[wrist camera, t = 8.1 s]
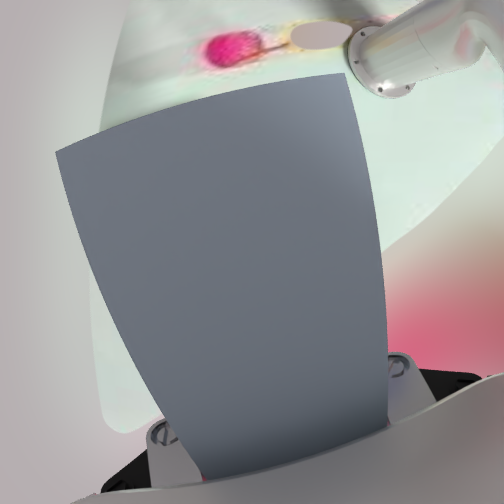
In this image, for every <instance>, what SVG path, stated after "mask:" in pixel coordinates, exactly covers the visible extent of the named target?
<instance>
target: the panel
mask: <svg viewBox="0 0 504 504" xmlns="http://www.w3.org/2000/svg"><path fill="white" fill-rule="evenodd" d="M55 153H56V157H57V161H58V165H59V169H60V173H61V177H62V181H63V184H64V188H65V191H66V194H67V198H68V202H69V205H70V208H71V211H72V215H73V218H74V221H75V224H76V227H77V230H78V233H79V236H80V239H81V242H82V244H83V247H84V250H85V253H86V255H87V258H88V261H89V264H90V266H91V269H92V271H93V274H94V276H95V279H96V281H97V284H98V286H99V289H100V291H101V294H102V296H103V298H104V301H105V303H106V305H107V307H108V310H109V312H110V314H111V316H112V319H113V321H114V323H115V325H116V327H117V329H118V332H119V334H120V336H121V338H122V340H123V342H124V344H125V346H126V348H127V350H128V352H129V354H130V356H131V358H132V360H133V362H134V364H135V366H136V368H137V369H138V371H139V373H140V375H141V377H142V379H143V381H144V382H145V384H146V386H147V388H148V390H149V391H150V393H151V395H152V397H153V398H154V400H155V402H156V403H157V405H158V407H159V409H160V410H161V412H162V413H163V415H164V417H165V418H166V420H167V422H168V423H169V425H170V426H171V428H172V430H173V431H174V433H175V434H176V436H177V437H178V439H179V440H180V442H181V444H182V445H183V447H184V448H185V449H186V451H187V452H188V454H189V455H190V457H191V458H192V460H193V461H194V463H195V464H196V465H197V467H198V468H199V470H200V471H201V472H202V474H203V475H204V476H205V478H206V479H207V480H213V479H218V478H224V477H229V476H234V475H239V474H244V473H248V472H252V471H257V470H261V469H265V468H269V467H273V466H277V465H280V464H284V463H288V462H291V461H295V460H298V459H301V458H304V457H308V456H311V455H314V454H317V453H320V452H323V451H326V450H329V449H332V448H334V447H337V446H340V445H343V444H345V443H348V442H351V441H353V440H356V439H358V438H361V437H363V436H366V435H368V434H371V433H373V432H375V431H378V430H380V429H382V428H385V427H387V414H388V342H387V341H388V340H387V319H386V304H385V290H384V279H383V268H382V259H381V250H380V242H379V234H378V227H377V220H376V213H375V207H374V201H373V195H372V189H371V183H370V178H369V173H368V167H367V162H366V158H365V153H364V148H363V143H362V139H361V135H360V130H359V126H358V122H357V118H356V114H355V110H354V106H353V102H352V98H351V94H350V91H349V87H348V84H347V80H346V77H345V73H337V74H328V75H320V76H312V77H305V78H298V79H292V80H286V81H280V82H274V83H268V84H263V85H258V86H253V87H248V88H244V89H239V90H235V91H230V92H226V93H222V94H218V95H214V96H210V97H206V98H202V99H198V100H195V101H191V102H188V103H184V104H181V105H177V106H174V107H171V108H167V109H164V110H161V111H158V112H155V113H152V114H149V115H146V116H143V117H140V118H137V119H134V120H131V121H129V122H126V123H123V124H120V125H118V126H115V127H112V128H110V129H107V130H105V131H102V132H100V133H97V134H95V135H92V136H90V137H88V138H85V139H83V140H80V141H78V142H76V143H74V144H72V145H69V146H67V147H65V148H63V149H60V150H58V151H56V152H55Z"/></svg>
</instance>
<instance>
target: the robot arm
mask: <svg viewBox="0 0 504 504" xmlns="http://www.w3.org/2000/svg"><path fill="white" fill-rule="evenodd" d="M485 46H487V47H488V48H489V50H490V51H491V53H492V55H493V56H494V57H495V58H496V60H497V62H498V63H499V65H500V67H501V68H502V70H503V72H504V0H424V1H422V2H421V3H419V4H417V5H416V6H414V7H412V8H411V9H409V10H407V11H406V12H404V13H403V14H401V15H399V16H398V17H396V18H395V19H393V20H392V21H390V22H389V23H387V24H386V25H384V26H382V27H378V26H368V27H365V28H362V29H361V30H359V31H358V32H357V33H355V34H354V35H353V37H352V38H351V40H350V43H349V46H348V59H349V62H350V66H351V68H352V70H353V73H354V74H355V76H356V77H357V79H358V80H359V81H360V82H361V84H362V85H363V86H364V87H366V88H367V89H368V90H369V91H371V92H372V93H374V94H376V95H378V96H380V97H384V98H391V99H394V98H399V97H402V96H405V95H407V94H408V93H409V92H410V91H411V90H412V89H413V88H414V86H415V84H416V82H418V81H422V80H425V79H428V78H432V77H435V76H439V75H442V74H446V73H450V72H453V71H457V70H461V69H465V68H468V67H470V66H472V65H474V64H475V63H476V62H477V61H478V60H479V59H480V57H481V56H482V54H483V52H484V49H485ZM378 90H379V91H378ZM146 442H147V449H146V450H145V451H144V452H143V453H141V454H140V455H139V456H138V457H137V458H135V459H134V460H133V461H132V462H130V463H129V464H128V465H127V466H125V467H124V468H123V469H122V470H120V471H119V472H118V473H117V474H115V475H114V476H113V477H112V478H110V479H109V480H108V481H107V482H106V483H105V484H104V485H103V487H102V489H101V493H100V494H96V493H93V494H92V495H90V496H88V497H86V498H83V499H80V500H77V501H75V502H73V503H71V504H504V372H503V373H500V374H496V375H490V376H487V378H485V379H482V378H481V377H479V376H478V375H476V374H472V373H466V372H465V373H464V372H451V371H450V372H449V371H439V370H428V369H418V367H417V365H416V364H415V362H414V360H413V359H412V358H411V357H410V356H409V355H407V354H405V353H401V352H389V353H388V414H387V427H385V428H382V429H380V430H378V431H375V432H373V433H371V434H368V435H366V436H363V437H361V438H358V439H356V440H353V441H351V442H348V443H345V444H343V445H340V446H337V447H334V448H332V449H329V450H326V451H323V452H320V453H317V454H314V455H311V456H308V457H304V458H301V459H298V460H295V461H291V462H288V463H284V464H280V465H277V466H273V467H269V468H265V469H261V470H257V471H252V472H248V473H244V474H239V475H234V476H229V477H224V478H218V479H213V480H207V479H206V478H205V476H204V475H203V474H202V472H201V471H200V470H199V468H198V467H197V465H196V464H195V463H194V461H193V460H192V458H191V457H190V455H189V454H188V452H187V451H186V449H185V448H184V447H183V445H182V444H181V442H180V440H179V439H178V437H177V436H176V434H175V433H174V431H173V430H172V428H171V426H170V425H169V423H168V422H167V420H166V418H164V419H162V420H160V421H158V422H156V423H155V424H153V425H152V426H151V427H150V429H149V430H148V432H147V435H146Z"/></svg>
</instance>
